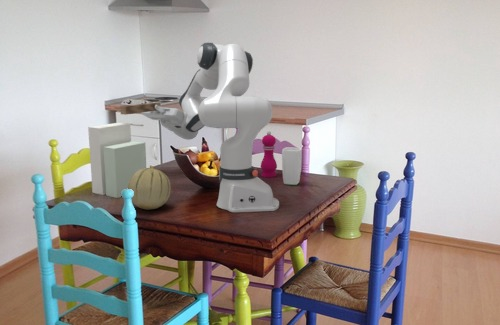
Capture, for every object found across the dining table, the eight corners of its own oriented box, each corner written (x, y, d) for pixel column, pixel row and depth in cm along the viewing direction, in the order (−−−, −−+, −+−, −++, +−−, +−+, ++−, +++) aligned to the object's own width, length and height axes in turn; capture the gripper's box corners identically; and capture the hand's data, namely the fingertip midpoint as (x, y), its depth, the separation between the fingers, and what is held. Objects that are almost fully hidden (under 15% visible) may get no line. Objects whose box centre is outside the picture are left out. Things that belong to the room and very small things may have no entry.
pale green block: (136, 187, 217) (134, 141, 213) (147, 189, 214) (145, 142, 210) (106, 195, 204) (103, 147, 200) (117, 198, 201) (114, 148, 197)
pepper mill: (275, 174, 239) (276, 130, 235) (277, 177, 232) (278, 132, 228) (259, 174, 239) (259, 130, 235) (261, 178, 232) (261, 132, 228)
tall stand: (123, 184, 221) (119, 122, 216) (133, 186, 218) (130, 123, 213) (92, 192, 208) (88, 127, 203) (102, 194, 205) (98, 128, 200)
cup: (280, 185, 219) (281, 150, 216) (285, 181, 226) (285, 147, 222) (298, 186, 217) (298, 151, 213) (302, 182, 223) (302, 147, 220)
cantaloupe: (128, 216, 179) (126, 172, 176) (129, 204, 193) (127, 163, 190) (172, 213, 182) (171, 170, 179) (170, 201, 196) (168, 161, 193)
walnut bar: (155, 109, 228) (155, 102, 227) (160, 110, 226) (160, 102, 226) (120, 114, 212) (120, 106, 211) (125, 114, 210) (125, 106, 210)
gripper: (155, 111, 241) (135, 98, 230) (190, 114, 230) (171, 100, 219) (151, 124, 239) (131, 111, 228) (186, 127, 228) (166, 114, 217)
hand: (151, 105), depth 223 cm, fingers closed on walnut bar, 3 cm apart
